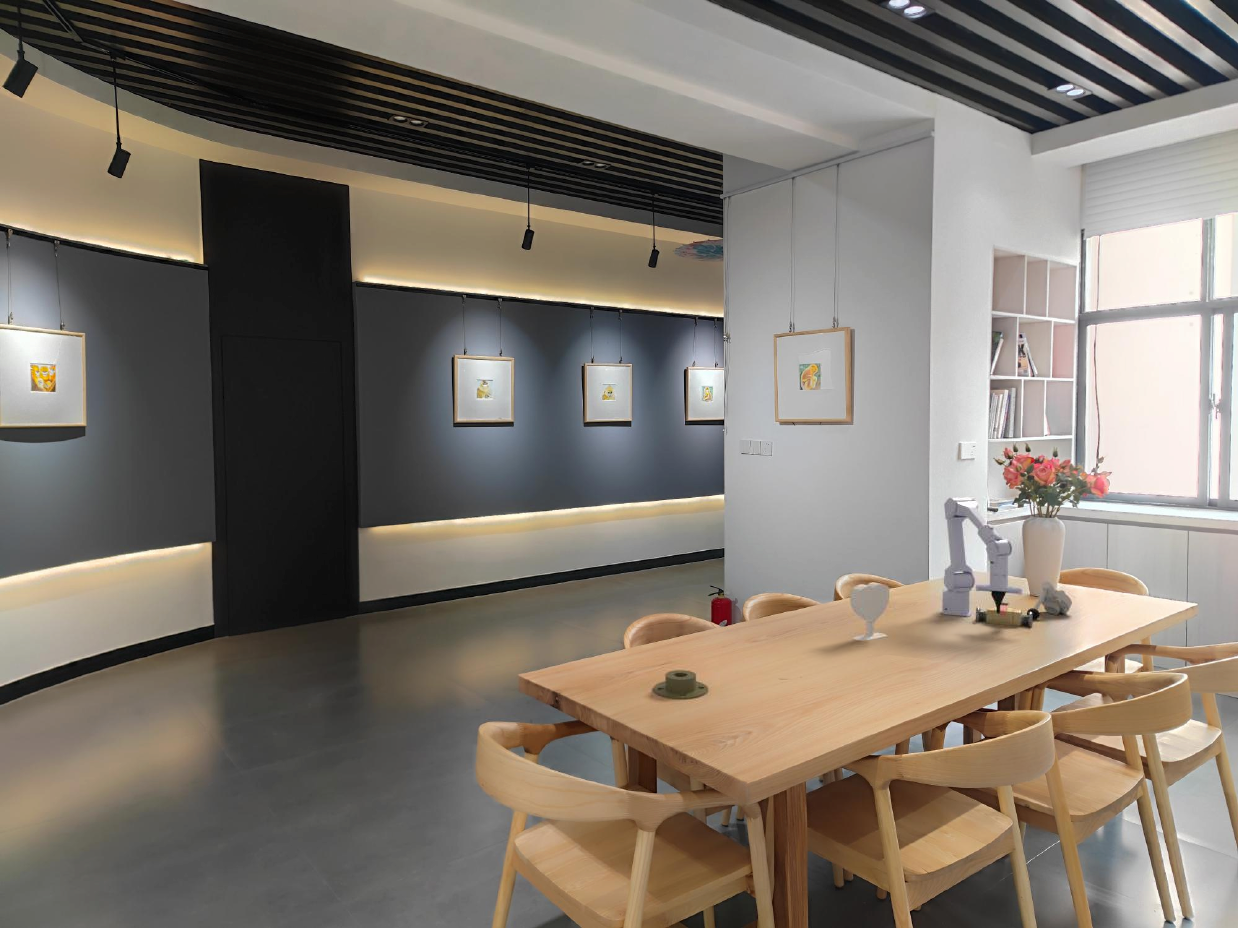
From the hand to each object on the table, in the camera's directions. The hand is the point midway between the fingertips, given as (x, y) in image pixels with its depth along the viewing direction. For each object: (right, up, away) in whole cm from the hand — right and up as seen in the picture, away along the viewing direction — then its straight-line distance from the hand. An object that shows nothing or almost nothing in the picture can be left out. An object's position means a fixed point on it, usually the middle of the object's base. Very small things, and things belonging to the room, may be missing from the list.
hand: (998, 612), depth 283 cm
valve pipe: (+5, -6, +7) cm, 11 cm away
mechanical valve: (+26, -5, +17) cm, 31 cm away
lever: (+3, 0, +3) cm, 4 cm away
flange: (-116, -11, -60) cm, 131 cm away
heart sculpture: (-48, -7, -8) cm, 49 cm away
